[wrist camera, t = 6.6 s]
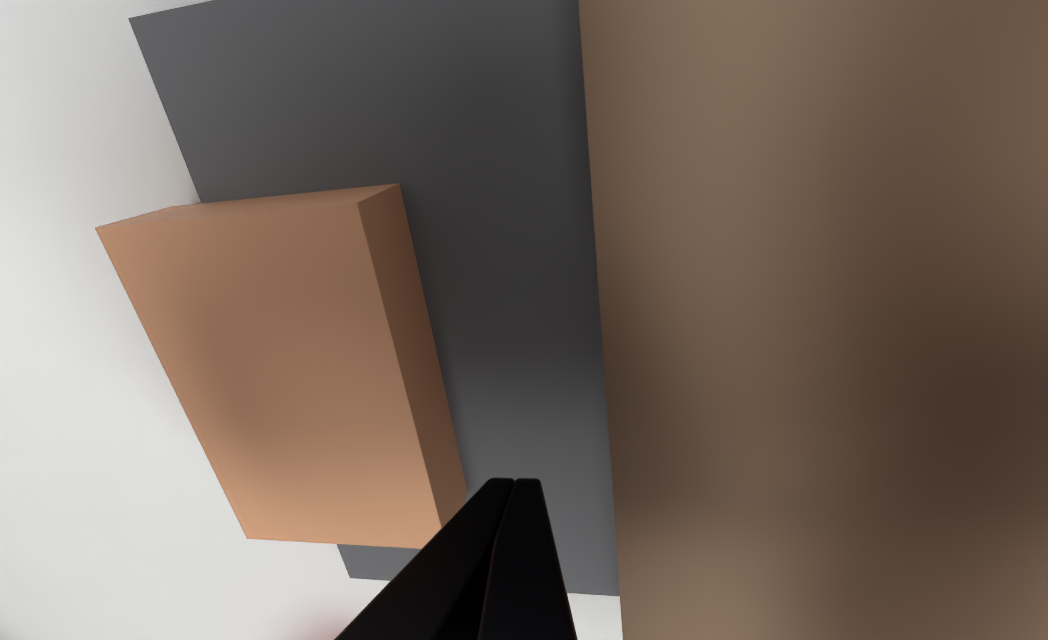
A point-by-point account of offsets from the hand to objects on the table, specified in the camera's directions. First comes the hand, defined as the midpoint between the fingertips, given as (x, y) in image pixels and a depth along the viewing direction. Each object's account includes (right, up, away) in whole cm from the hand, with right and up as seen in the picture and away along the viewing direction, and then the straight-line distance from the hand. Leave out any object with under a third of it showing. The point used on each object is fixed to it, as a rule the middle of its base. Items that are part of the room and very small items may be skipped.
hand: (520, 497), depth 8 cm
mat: (-2, +2, +5) cm, 6 cm away
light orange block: (-5, +1, +3) cm, 6 cm away
